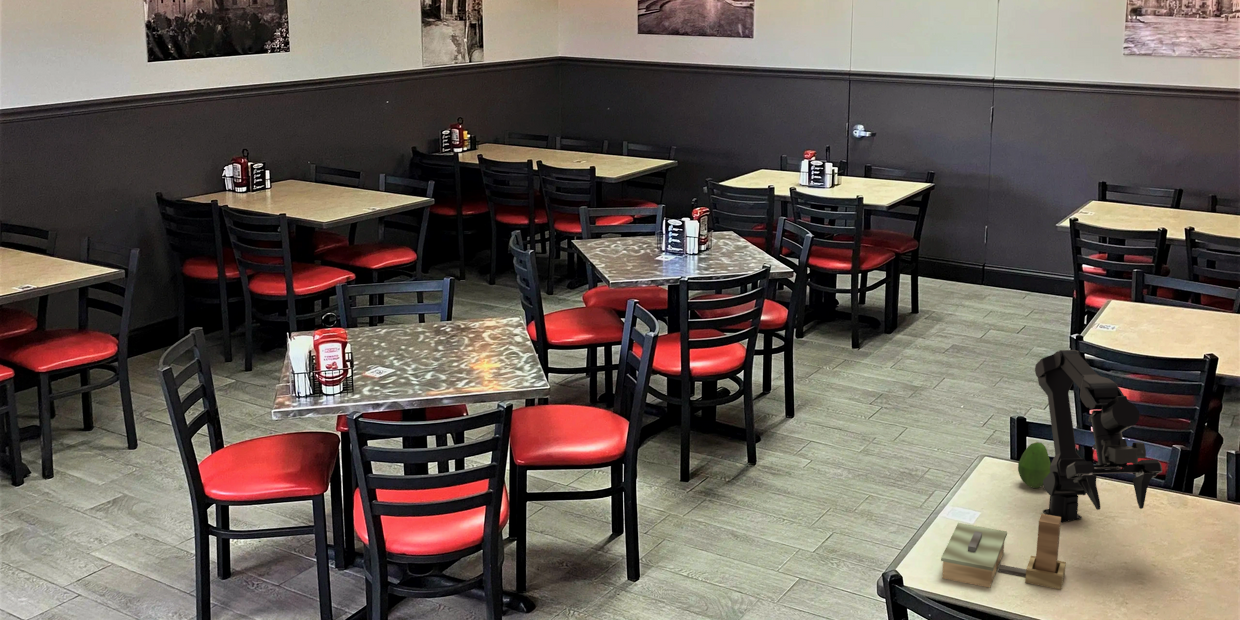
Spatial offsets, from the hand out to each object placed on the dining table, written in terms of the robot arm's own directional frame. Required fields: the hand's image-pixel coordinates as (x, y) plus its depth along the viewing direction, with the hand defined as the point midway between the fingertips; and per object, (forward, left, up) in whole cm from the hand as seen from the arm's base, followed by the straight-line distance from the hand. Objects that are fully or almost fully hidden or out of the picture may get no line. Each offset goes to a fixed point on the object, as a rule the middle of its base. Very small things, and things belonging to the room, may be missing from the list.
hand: (1120, 509), depth 244 cm
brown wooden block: (-2, -16, -15) cm, 22 cm away
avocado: (-44, +11, -15) cm, 48 cm away
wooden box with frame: (-8, -22, -15) cm, 28 cm away
